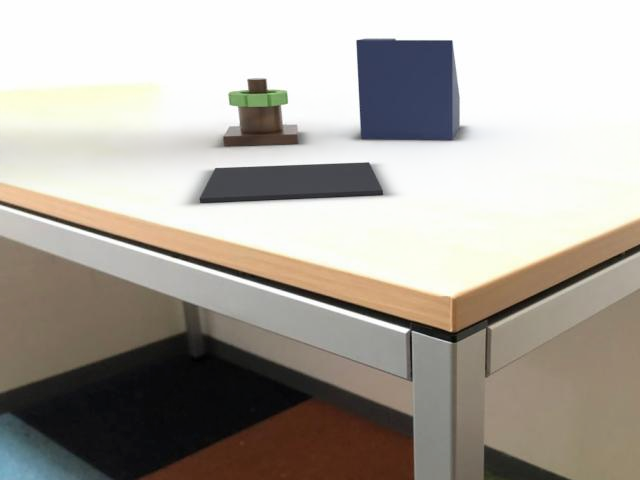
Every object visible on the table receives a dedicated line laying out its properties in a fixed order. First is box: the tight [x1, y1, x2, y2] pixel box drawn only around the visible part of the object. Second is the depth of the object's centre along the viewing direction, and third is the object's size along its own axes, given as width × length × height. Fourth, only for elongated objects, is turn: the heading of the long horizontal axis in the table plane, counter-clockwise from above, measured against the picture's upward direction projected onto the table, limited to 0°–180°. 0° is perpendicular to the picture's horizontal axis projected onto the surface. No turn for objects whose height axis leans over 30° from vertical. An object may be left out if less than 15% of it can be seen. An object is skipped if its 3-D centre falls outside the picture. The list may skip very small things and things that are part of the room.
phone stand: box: [355, 38, 461, 141], centre depth 100 cm, size 12×12×12 cm
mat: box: [199, 161, 384, 203], centre depth 72 cm, size 16×14×1 cm
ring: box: [228, 88, 289, 107], centre depth 95 cm, size 7×7×1 cm
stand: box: [222, 77, 299, 147], centre depth 96 cm, size 9×9×8 cm
